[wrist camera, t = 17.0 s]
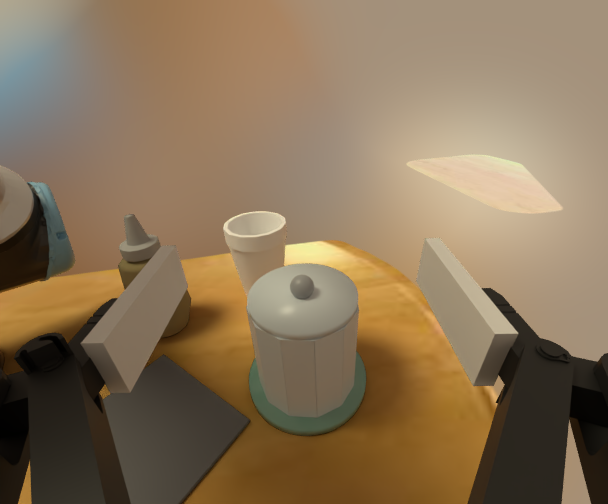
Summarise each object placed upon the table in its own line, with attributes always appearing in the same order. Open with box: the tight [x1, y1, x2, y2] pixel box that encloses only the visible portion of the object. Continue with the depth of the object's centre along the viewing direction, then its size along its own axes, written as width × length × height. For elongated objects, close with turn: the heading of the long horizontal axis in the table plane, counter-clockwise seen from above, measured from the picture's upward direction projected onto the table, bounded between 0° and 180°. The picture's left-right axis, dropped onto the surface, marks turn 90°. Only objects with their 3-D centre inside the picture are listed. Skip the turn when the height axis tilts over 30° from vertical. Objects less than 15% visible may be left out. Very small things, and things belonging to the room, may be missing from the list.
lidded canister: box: [246, 264, 359, 418], centre depth 32 cm, size 11×11×14 cm
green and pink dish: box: [249, 351, 366, 436], centre depth 35 cm, size 14×14×5 cm
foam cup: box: [223, 211, 287, 297], centre depth 48 cm, size 10×9×13 cm
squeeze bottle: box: [118, 214, 191, 338], centre depth 41 cm, size 8×8×18 cm
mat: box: [103, 354, 250, 504], centre depth 31 cm, size 16×14×1 cm
